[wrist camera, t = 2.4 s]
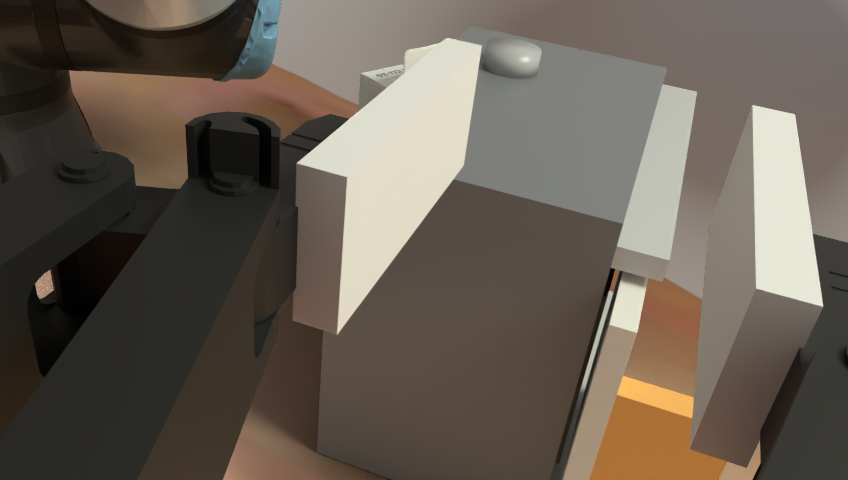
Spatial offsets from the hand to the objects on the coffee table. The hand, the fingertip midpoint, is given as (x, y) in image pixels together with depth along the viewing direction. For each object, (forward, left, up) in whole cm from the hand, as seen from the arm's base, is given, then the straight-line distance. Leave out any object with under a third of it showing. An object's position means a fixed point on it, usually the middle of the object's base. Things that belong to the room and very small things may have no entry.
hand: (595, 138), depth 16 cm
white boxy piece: (+4, +15, -23) cm, 28 cm away
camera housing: (-5, +22, -26) cm, 34 cm away
